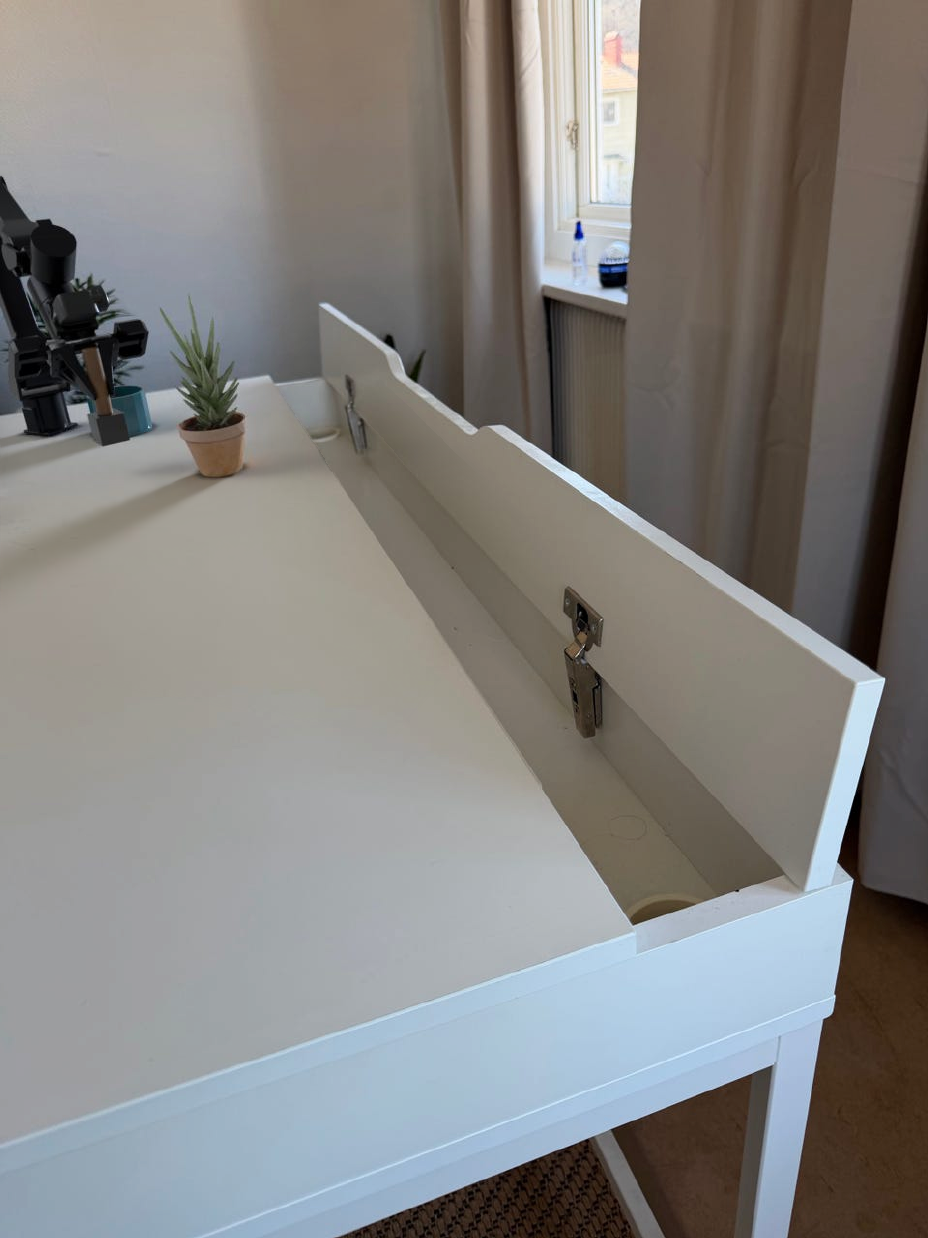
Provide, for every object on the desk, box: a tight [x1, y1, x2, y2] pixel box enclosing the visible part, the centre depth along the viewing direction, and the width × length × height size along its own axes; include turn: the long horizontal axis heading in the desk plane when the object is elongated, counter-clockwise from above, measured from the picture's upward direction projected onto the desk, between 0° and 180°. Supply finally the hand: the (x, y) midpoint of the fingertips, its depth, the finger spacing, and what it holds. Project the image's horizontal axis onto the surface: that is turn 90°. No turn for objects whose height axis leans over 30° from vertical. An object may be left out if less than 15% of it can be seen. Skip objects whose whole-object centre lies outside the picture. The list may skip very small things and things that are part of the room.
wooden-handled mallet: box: [82, 347, 131, 447], centre depth 133 cm, size 4×4×13 cm
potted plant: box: [158, 292, 249, 478], centre depth 130 cm, size 10×10×25 cm
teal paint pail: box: [85, 384, 153, 438], centre depth 157 cm, size 9×9×6 cm
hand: (104, 396), depth 132 cm, fingers closed on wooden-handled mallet, 2 cm apart
